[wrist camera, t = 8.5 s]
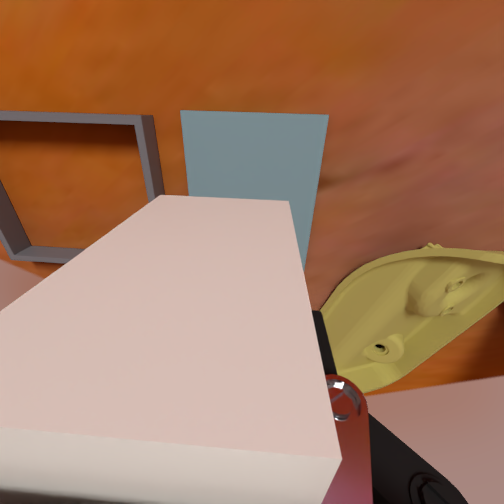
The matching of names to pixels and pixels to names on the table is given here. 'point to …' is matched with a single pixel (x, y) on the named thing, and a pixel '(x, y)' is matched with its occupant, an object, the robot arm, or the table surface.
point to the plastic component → (408, 309)
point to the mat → (257, 159)
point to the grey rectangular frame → (3, 214)
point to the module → (169, 367)
